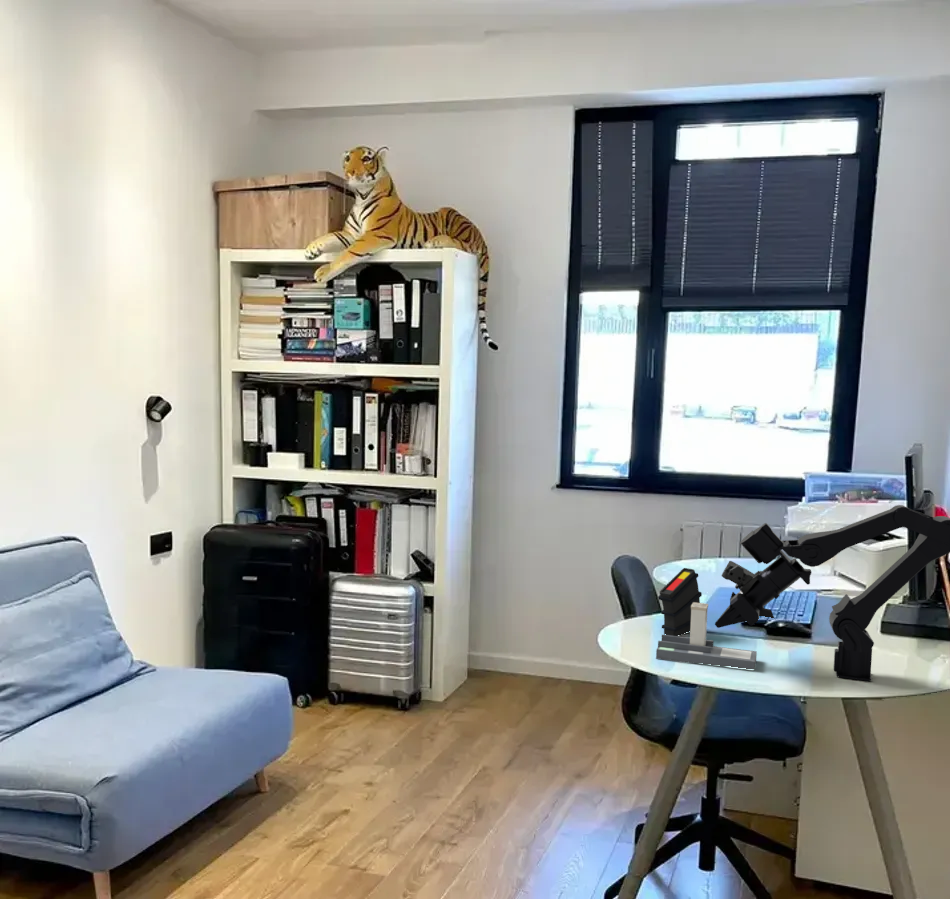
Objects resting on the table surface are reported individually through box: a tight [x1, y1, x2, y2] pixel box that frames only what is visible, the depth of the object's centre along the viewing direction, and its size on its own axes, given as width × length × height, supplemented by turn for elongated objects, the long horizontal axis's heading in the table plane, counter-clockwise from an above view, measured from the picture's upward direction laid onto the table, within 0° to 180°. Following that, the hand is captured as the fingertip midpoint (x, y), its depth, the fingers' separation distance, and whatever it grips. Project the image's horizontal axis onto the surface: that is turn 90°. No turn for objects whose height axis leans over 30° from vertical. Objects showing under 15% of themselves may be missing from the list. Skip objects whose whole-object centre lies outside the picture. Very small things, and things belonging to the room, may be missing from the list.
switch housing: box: [655, 634, 758, 669], centre depth 191 cm, size 20×8×3 cm, turn 70°
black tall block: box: [658, 567, 703, 636], centre depth 212 cm, size 4×13×15 cm, turn 133°
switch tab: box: [689, 602, 709, 646], centre depth 192 cm, size 3×4×9 cm
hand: (716, 625), depth 191 cm, fingers closed
